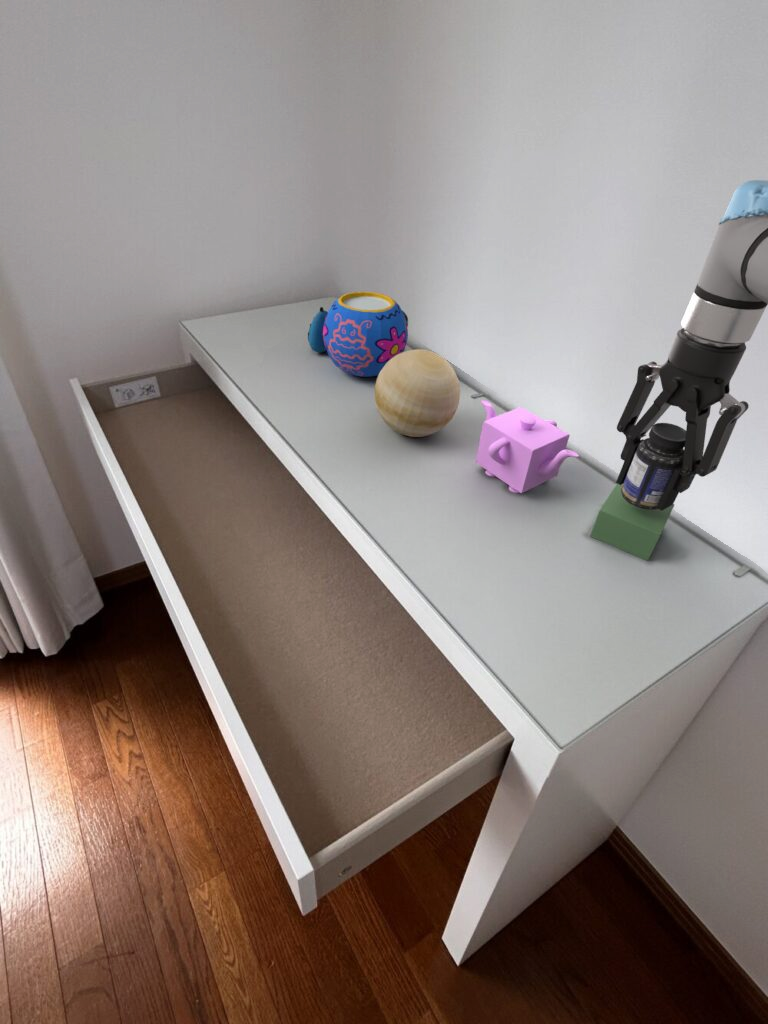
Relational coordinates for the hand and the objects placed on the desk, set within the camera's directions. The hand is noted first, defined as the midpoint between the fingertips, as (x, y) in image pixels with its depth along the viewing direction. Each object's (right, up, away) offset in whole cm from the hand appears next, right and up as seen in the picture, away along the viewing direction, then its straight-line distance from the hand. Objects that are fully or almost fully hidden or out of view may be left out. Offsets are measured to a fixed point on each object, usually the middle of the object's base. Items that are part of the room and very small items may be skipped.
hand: (644, 493), depth 81 cm
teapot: (-15, +3, +15) cm, 21 cm away
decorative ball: (-31, +12, +24) cm, 41 cm away
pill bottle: (0, -1, +1) cm, 1 cm away
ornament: (-51, +34, +49) cm, 78 cm away
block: (0, -6, +5) cm, 8 cm away
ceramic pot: (-41, +28, +42) cm, 65 cm away
